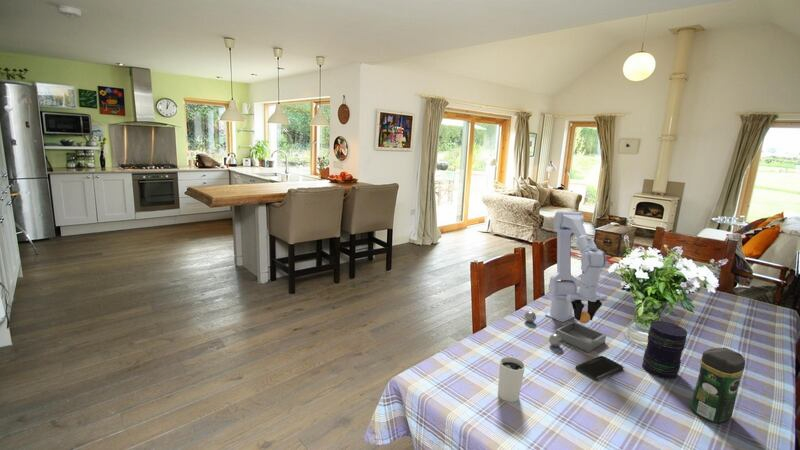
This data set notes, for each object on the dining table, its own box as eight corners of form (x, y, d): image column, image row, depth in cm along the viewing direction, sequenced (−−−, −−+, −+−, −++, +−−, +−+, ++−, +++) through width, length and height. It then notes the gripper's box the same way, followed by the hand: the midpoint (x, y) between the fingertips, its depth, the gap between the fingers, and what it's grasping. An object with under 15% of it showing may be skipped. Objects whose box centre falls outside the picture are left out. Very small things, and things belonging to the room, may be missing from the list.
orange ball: (579, 318, 144) (581, 307, 143) (591, 323, 141) (593, 312, 140) (573, 321, 142) (575, 310, 141) (585, 326, 138) (587, 315, 137)
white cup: (502, 384, 114) (506, 354, 112) (524, 394, 110) (528, 363, 108) (492, 395, 109) (495, 363, 107) (514, 406, 105) (519, 373, 103)
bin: (571, 328, 152) (572, 321, 151) (604, 342, 142) (606, 334, 141) (554, 337, 144) (555, 329, 143) (588, 353, 134) (589, 344, 134)
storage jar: (660, 381, 120) (670, 337, 117) (634, 363, 129) (642, 322, 126) (685, 377, 123) (695, 334, 120) (657, 360, 132) (666, 319, 129)
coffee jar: (703, 400, 112) (718, 341, 108) (736, 418, 105) (753, 356, 101) (683, 408, 108) (698, 347, 104) (715, 427, 101) (733, 363, 97)
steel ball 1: (527, 318, 158) (529, 308, 157) (537, 322, 155) (538, 312, 154) (521, 321, 156) (522, 311, 155) (531, 325, 152) (532, 315, 151)
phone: (625, 367, 125) (596, 379, 118) (624, 370, 126) (596, 382, 118) (602, 355, 132) (573, 366, 124) (601, 358, 132) (573, 369, 125)
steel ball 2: (552, 341, 141) (554, 330, 140) (563, 346, 137) (565, 335, 136) (545, 345, 138) (547, 333, 137) (557, 350, 135) (559, 339, 134)
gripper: (577, 288, 133) (571, 324, 136) (615, 287, 135) (608, 323, 138) (565, 280, 140) (560, 315, 143) (601, 280, 142) (595, 314, 145)
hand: (583, 319), depth 141 cm, fingers closed on orange ball, 4 cm apart
